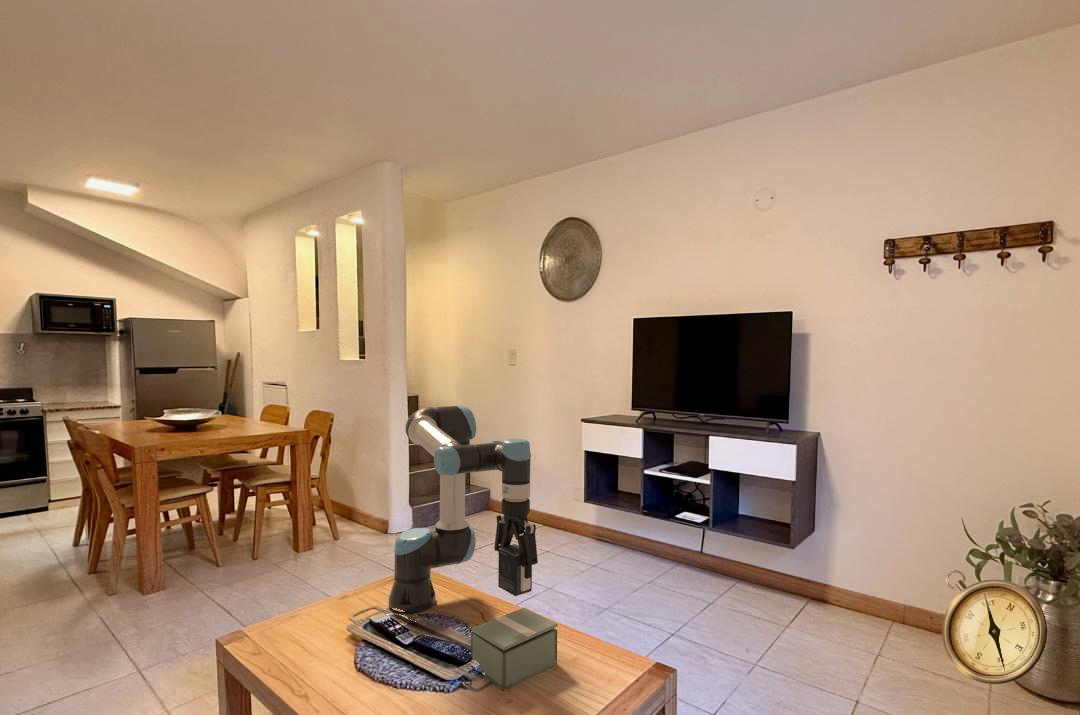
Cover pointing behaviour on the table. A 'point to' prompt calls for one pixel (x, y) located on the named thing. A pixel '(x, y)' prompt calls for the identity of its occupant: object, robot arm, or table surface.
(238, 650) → the table surface
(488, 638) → the lid
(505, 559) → the box
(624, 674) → the table surface
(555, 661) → the carton
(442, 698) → the table surface
